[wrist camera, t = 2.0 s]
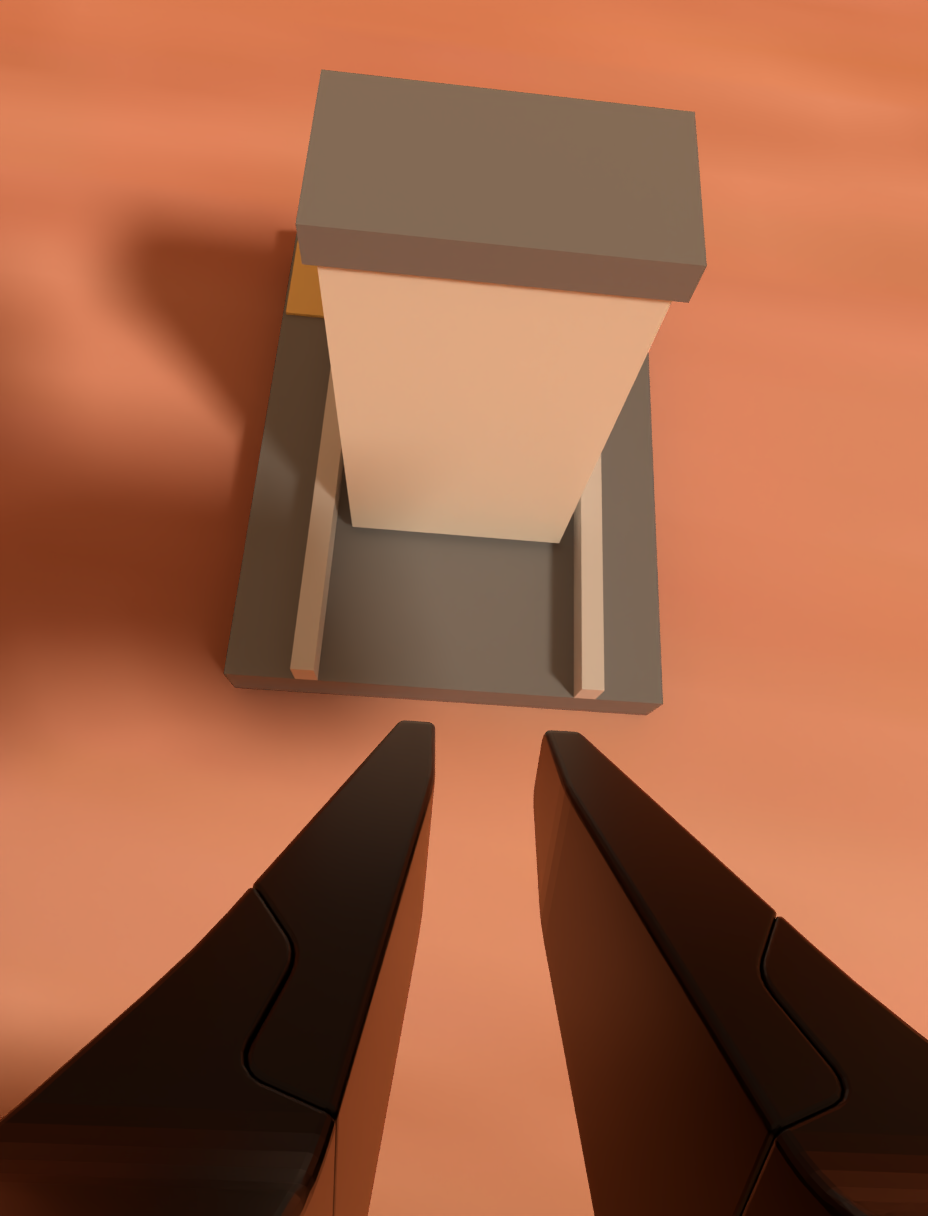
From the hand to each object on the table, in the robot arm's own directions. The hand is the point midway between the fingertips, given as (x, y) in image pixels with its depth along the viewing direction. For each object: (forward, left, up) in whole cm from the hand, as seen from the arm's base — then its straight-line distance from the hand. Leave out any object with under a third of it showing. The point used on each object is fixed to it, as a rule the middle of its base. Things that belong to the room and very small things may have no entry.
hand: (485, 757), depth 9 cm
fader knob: (+5, +8, -11) cm, 14 cm away
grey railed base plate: (+6, +10, -13) cm, 17 cm away
